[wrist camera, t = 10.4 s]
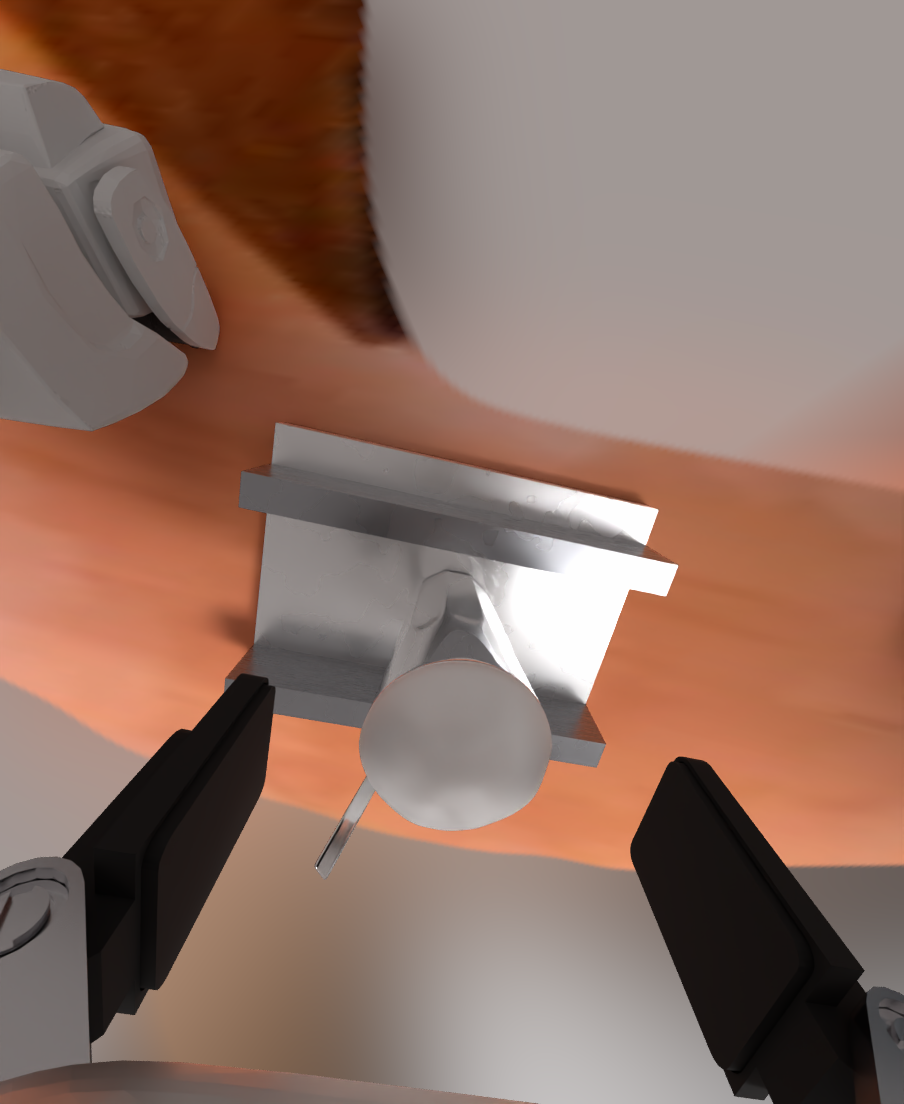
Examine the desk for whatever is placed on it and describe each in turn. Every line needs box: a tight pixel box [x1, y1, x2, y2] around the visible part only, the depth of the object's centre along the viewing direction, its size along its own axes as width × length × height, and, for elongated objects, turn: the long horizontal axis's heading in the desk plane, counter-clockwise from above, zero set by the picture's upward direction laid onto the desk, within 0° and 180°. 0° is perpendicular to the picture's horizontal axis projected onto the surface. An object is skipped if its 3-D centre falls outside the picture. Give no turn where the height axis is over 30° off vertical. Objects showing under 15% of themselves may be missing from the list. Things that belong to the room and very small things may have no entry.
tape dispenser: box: [0, 69, 220, 431], centre depth 11 cm, size 6×7×10 cm
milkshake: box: [315, 571, 552, 879], centre depth 13 cm, size 4×5×10 cm
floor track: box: [224, 422, 678, 768], centre depth 17 cm, size 15×12×4 cm
